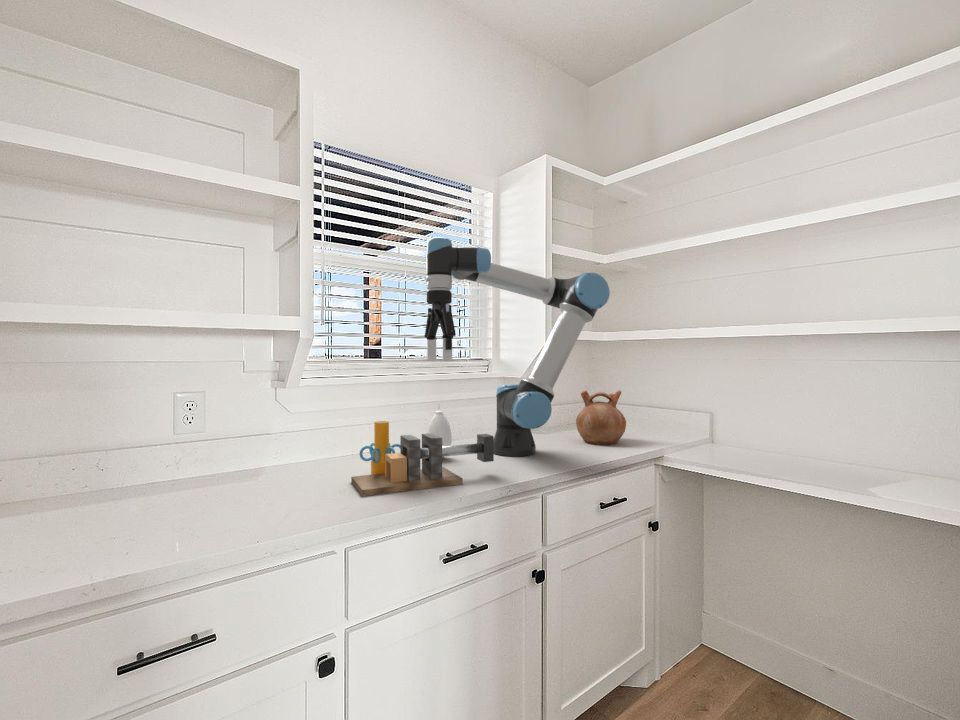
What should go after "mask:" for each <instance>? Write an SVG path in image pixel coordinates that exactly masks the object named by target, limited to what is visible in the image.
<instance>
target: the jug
mask: <svg viewBox="0 0 960 720" xmlns="http://www.w3.org/2000/svg"><path fill="white" fill-rule="evenodd" d="M580 396H581V398H582V400H583V402H584V407H583V408H582V409H581V411H580V412H579V413H578V415H577V417H576V420H575V422H576V423H575V424H576V430H577V432H578V434H579V436H580V437H581V438H582V440H583V441H584V443H586V444H589V445H595V446H611V445H616V444H617V443H618V442H619V440H621V438H622V437H623V435H624V434H625V432H626V428H627V421H626V417H625V416H624V414H623V412H621V410H619V409H618V408H617V403H618V401H619V399H620V397H621V396H622V390H617V391H615V392H614V393H609V394H608V393H607V392H603V391H598V392H595V393H593V394H591V395H590V394H589V392H588V391H587V390H584V391H581V392H580ZM596 397H602V398H603V397H604V398H606V399H608V402H605V401H593V400H594V398H596Z"/></svg>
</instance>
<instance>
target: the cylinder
mask: <svg viewBox="0 0 960 720" xmlns="http://www.w3.org/2000/svg"><path fill="white" fill-rule="evenodd" d="M373 425H374V430H373V431H374V433H373V434H374V435H373V437H374V439H373V440H374V442H371V443H370V445H365V446H362V447H361V449H360V450H359V458H360V460H362V461H364V462H370V475H373V474H383V473H385V454H392V453H396V450H395V449H394V448H396V447H397V448H399V449H400V443H393V444H392V445H391V443H390V421H386V420H381V421H380V420H379V421H378V420H377V421H374V423H373ZM367 449H368V450H369V455H370V457H367V458H366V457H364V456H363V454H364V453H363V452H364V450H367Z"/></svg>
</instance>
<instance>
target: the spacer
mask: <svg viewBox="0 0 960 720" xmlns="http://www.w3.org/2000/svg"><path fill="white" fill-rule="evenodd" d="M391 453H392V452H391ZM385 477H386V478H387V477H391V482H401V481H407V457H406V456H404V455H403V454H401V453H400V452H395V453H392V454H385Z"/></svg>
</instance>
